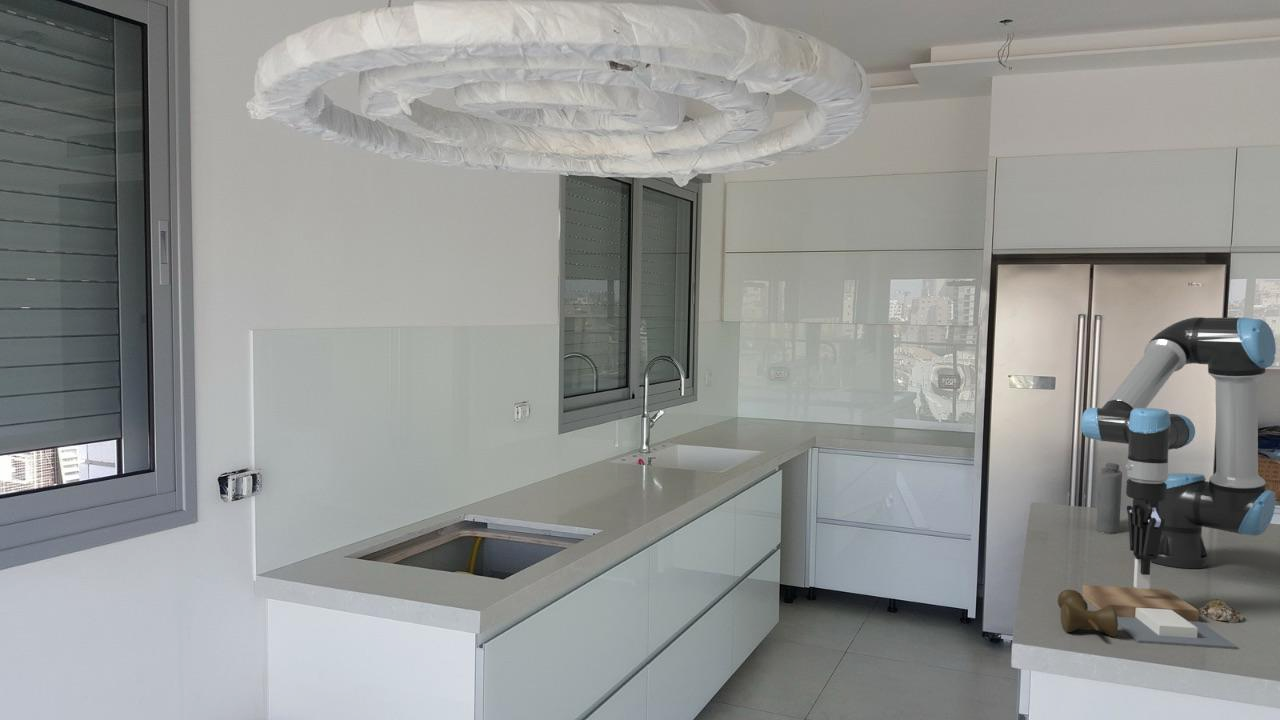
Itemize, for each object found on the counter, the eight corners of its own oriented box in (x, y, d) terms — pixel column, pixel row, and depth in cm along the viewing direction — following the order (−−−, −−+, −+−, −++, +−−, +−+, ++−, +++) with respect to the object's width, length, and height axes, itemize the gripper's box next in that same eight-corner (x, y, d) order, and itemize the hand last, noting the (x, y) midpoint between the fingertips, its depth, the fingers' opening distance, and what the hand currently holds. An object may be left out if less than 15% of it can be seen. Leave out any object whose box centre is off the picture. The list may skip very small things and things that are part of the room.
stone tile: (1170, 619, 184) (1171, 609, 184) (1197, 638, 173) (1197, 628, 173) (1135, 616, 185) (1135, 607, 185) (1159, 635, 174) (1159, 625, 174)
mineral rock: (1249, 616, 181) (1206, 599, 185) (1241, 635, 182) (1198, 618, 186) (1243, 604, 191) (1202, 588, 195) (1236, 622, 192) (1194, 606, 195)
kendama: (1093, 615, 188) (1125, 646, 168) (1045, 612, 190) (1071, 643, 170) (1094, 588, 188) (1125, 615, 168) (1045, 585, 190) (1071, 612, 170)
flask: (1118, 535, 259) (1121, 468, 258) (1096, 532, 262) (1099, 466, 261) (1119, 525, 272) (1123, 461, 271) (1098, 523, 275) (1102, 459, 274)
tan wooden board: (1166, 600, 197) (1167, 590, 197) (1198, 622, 183) (1198, 610, 183) (1082, 595, 200) (1082, 584, 199) (1107, 616, 186) (1107, 604, 186)
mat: (1200, 623, 182) (1200, 622, 182) (1237, 649, 169) (1237, 646, 168) (1109, 618, 185) (1109, 616, 185) (1138, 642, 171) (1138, 640, 171)
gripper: (1115, 473, 196) (1111, 577, 198) (1141, 485, 183) (1136, 596, 185) (1151, 475, 195) (1146, 579, 197) (1179, 486, 182) (1174, 598, 184)
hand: (1141, 587), depth 191 cm, fingers closed
